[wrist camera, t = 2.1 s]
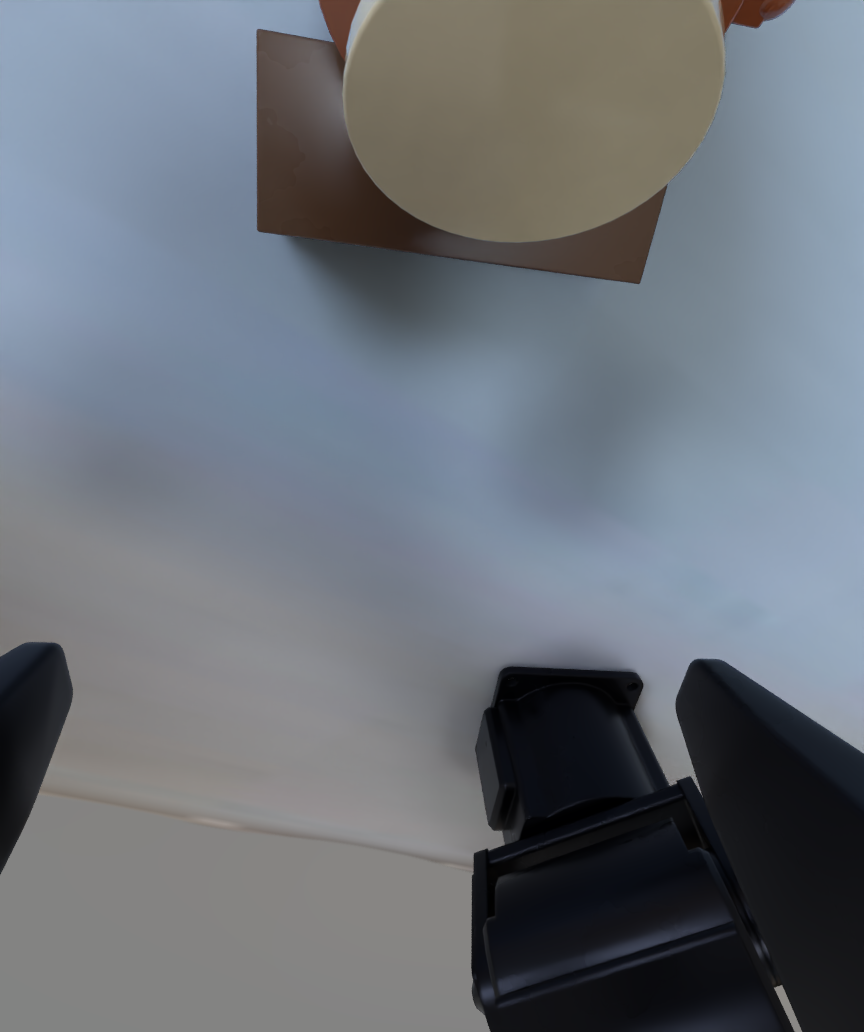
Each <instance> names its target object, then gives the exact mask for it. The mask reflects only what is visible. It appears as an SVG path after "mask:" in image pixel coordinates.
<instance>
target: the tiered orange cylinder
mask: <svg viewBox="0 0 864 1032" xmlns="http://www.w3.org/2000/svg"><path fill="white" fill-rule="evenodd" d="M795 1H796V0H319V4H320V7H321V10H322V13H323V16H324V19H325V21H326V24H327V27H328V30H329V33H330V35H331V37H332V39H333V41H334V43H335V45H336V47H337V49H338V51H339V53H340V55H341V57H342V58H343V60H344V61H345V65H344V76H343V88H342V102H343V115H344V119H345V124H346V128H347V133H348V136H349V138H350V141H351V144H352V146H353V149H354V151H355V154H356V156H357V158H358V159H359V161H360V163H361V165H362V166H363V168H364V170H365V171H366V173H367V174H368V175H369V177H370V178H371V179H372V181H373V182H374V183H375V185H376V186H377V187H378V188H379V189H380V190H381V191H382V192H383V193H384V194H385V195H386V196H387V197H388V198H389V199H390V200H392V201H393V202H394V203H395V204H397V205H398V206H399V207H400V208H401V209H403V210H405V211H406V212H408V213H409V214H411V215H412V216H414V217H415V218H417V219H419V220H421V221H423V222H425V223H427V224H429V225H431V226H433V227H436V228H439V229H441V230H444V231H446V232H449V233H453V234H456V235H460V236H463V237H467V238H473V239H478V240H483V241H493V242H511V243H522V242H537V241H544V240H551V239H558V238H562V237H566V236H571V235H575V234H578V233H581V232H584V231H588V230H591V229H594V228H596V227H599V226H601V225H603V224H606V223H608V222H611V221H613V220H615V219H617V218H619V217H621V216H623V215H624V214H626V213H628V212H630V211H632V210H633V209H635V208H636V207H638V206H640V205H641V204H643V203H644V202H646V201H647V200H649V199H650V198H651V197H652V196H654V195H655V194H656V193H658V192H659V191H660V190H661V189H663V188H664V187H665V186H666V185H667V184H668V183H669V182H670V181H671V180H672V179H673V178H674V177H675V176H676V175H677V174H678V173H679V172H680V171H681V170H682V169H683V167H684V166H685V165H686V164H687V163H688V162H689V160H690V159H691V158H692V157H693V155H694V154H695V152H696V151H697V149H698V148H699V146H700V144H701V143H702V141H703V140H704V138H705V136H706V134H707V132H708V130H709V128H710V126H711V124H712V122H713V120H714V117H715V115H716V112H717V109H718V106H719V103H720V100H721V96H722V91H723V86H724V80H725V74H726V46H725V33H726V31H727V29H728V28H729V26H730V24H731V23H732V24H736V25H741V26H746V27H751V28H759V27H760V26H761V24H762V23H763V21H770V20H773V19H775V18H777V17H779V16H781V15H782V14H783V13H785V12H786V11H787V10H788V9H789V8H790V7H791V6H792V5H793V4H794V2H795Z"/></svg>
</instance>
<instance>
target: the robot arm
mask: <svg viewBox="0 0 864 1032" xmlns="http://www.w3.org/2000/svg"><path fill="white" fill-rule="evenodd" d="M512 677H514V678H513V679H510V680H508V679H509V678H512ZM630 683H632V684H630ZM629 684H630V685H629ZM642 689H643V682H642V680H641V678H640V677H639V675H638V674H637V673H633V672H616V671H595V670H574V669H553V668H532V667H507V668H504V669H503V670H502V671H500V673H499V676H498V680H497V684H496V688H495V692H494V697H493V701H492V705H491V707H488V708H487V709H486V710H485V711H484V714H483V718H482V722H481V726H480V730H479V734H478V739H477V743H476V747H475V751H476V756H477V762H478V768H479V774H480V780H481V785H482V791H483V797H484V803H485V809H486V814H487V820H488V825H489V826H490V827H491V828H492V829H493V830H494V831H502V832H503V837H504V843H505V845H503V846H501V847H498V848H495V849H492V850H488V849H484V850H482V851H479V852H476V853H474V874H473V875H472V960H471V961H472V963H471V968H472V977H473V985H472V996H473V1000H474V1003H475V1006H476V1008H477V1009H478V1010H479V1011H481V1012H482V1013H483V1014H484V1015H485V1016H486V1019H487V1023H488V1026H489V1029H490V1031H491V1032H794V1030H793V1027H792V1026H791V1023H790V1021H789V1019H788V1017H787V1015H786V1013H785V1011H784V1008H783V1006H782V1004H781V1002H780V1000H779V998H778V996H777V993H776V991H775V989H774V987H777V986H780V985H783V988H784V990H785V992H786V995H787V997H788V999H789V1002H790V1004H791V1006H792V1008H793V1011H794V1013H795V1016H796V1018H797V1020H798V1023H799V1025H800V1027H801V1030H802V1032H864V754H863V753H862V752H860V751H859V750H857V749H856V748H854V747H853V746H851V745H850V744H848V743H847V742H845V741H844V740H842V739H841V738H839V737H838V736H836V735H835V734H833V733H832V732H830V731H829V730H827V729H826V728H824V727H823V726H821V725H820V724H818V723H817V722H815V721H814V720H812V719H811V718H809V717H807V716H806V715H804V714H803V713H801V712H800V711H798V710H797V709H795V708H794V707H792V706H791V705H789V704H788V703H786V702H785V701H783V700H782V699H780V698H779V697H777V696H776V695H774V694H773V693H771V692H770V691H768V690H767V689H765V688H764V687H762V686H761V685H759V684H758V683H756V682H755V681H753V680H752V679H750V678H749V677H747V676H746V675H744V674H743V673H741V672H740V671H738V670H736V669H735V668H733V667H732V666H730V665H729V664H727V663H726V662H724V661H722V660H719V659H696V660H694V661H692V662H691V663H690V665H689V667H688V670H687V672H686V675H685V677H684V680H683V682H682V685H681V687H680V690H679V692H678V695H677V698H676V713H677V717H678V720H679V723H680V726H681V730H682V733H683V736H684V739H685V742H686V745H687V749H688V752H689V755H690V758H691V761H692V764H693V767H694V771H695V774H696V777H697V780H698V783H699V786H700V790H701V793H702V795H701V793H700V792H699V790H698V788H697V786H696V785H695V783H694V781H693V779H692V778H691V776H689V777H686V778H683V779H681V780H678V781H677V784H675V785H672V786H670V785H669V783H668V781H667V779H666V777H665V775H664V773H663V771H662V769H661V767H660V765H659V763H658V761H657V759H656V756H655V754H654V752H653V750H652V748H651V746H650V744H649V742H648V740H647V738H646V736H645V734H644V732H643V730H642V728H641V726H640V723H639V721H638V719H637V717H636V715H635V713H634V709H635V706H636V704H637V701H638V699H639V696H640V694H641V691H642ZM72 697H73V688H72V683H71V679H70V675H69V671H68V666H67V662H66V658H65V654H64V651H63V648H62V647H61V646H60V645H59V644H57V643H49V642H28V643H24V644H22V645H20V646H18V647H16V648H14V649H13V650H11V651H9V652H8V653H6V654H4V655H3V656H1V657H0V874H1V872H2V870H3V868H4V866H5V864H6V862H7V860H8V858H9V856H10V854H11V852H12V850H13V848H14V846H15V844H16V842H17V840H18V838H19V836H20V834H21V832H22V830H23V828H24V826H25V823H26V821H27V819H28V817H29V815H30V812H31V810H32V808H33V805H34V803H35V800H36V798H37V795H38V793H39V790H40V787H41V784H42V782H43V779H44V776H45V774H46V771H47V768H48V766H49V763H50V760H51V758H52V755H53V752H54V749H55V747H56V744H57V741H58V739H59V736H60V733H61V731H62V728H63V725H64V723H65V720H66V717H67V714H68V712H69V709H70V706H71V703H72ZM702 796H703V797H702Z"/></svg>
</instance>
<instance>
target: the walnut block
mask: <svg viewBox="0 0 864 1032" xmlns="http://www.w3.org/2000/svg"><path fill="white" fill-rule="evenodd" d="M344 65H345V61H344V60H343V58H342V57H341V55H340V53H339V51H338V49H337V47H336V45H335V43H334V42H329V41H324V40H318V39H313V38H307V37H301V36H296V35H290V34H285V33H279V32H274V31H268V30H263V29H257V230H258V231H259V232H264V233H271V234H278V235H286V236H293V237H300V238H307V239H315V240H322V241H329V242H337V243H344V244H351V245H358V246H366V247H373V248H380V249H387V250H395V251H402V252H409V253H416V254H424V255H431V256H438V257H446V258H453V259H460V260H467V261H475V262H482V263H489V264H496V265H504V266H511V267H518V268H525V269H533V270H540V271H547V272H555V273H562V274H569V275H576V276H584V277H591V278H598V279H605V280H613V281H620V282H627V283H634V284H639V283H640V282H641V278H642V275H643V271H644V267H645V264H646V260H647V257H648V253H649V250H650V246H651V242H652V239H653V235H654V232H655V228H656V224H657V221H658V217H659V214H660V210H661V206H662V203H663V199H664V196H665V192H666V189H667V185H668V184H667V185H666V186H665V187H664V188H663V189H661V190H660V191H659V192H658V193H656V194H655V195H654V196H652V197H651V198H650V199H649V200H647V201H646V202H644V203H643V204H641V205H640V206H638V207H636V208H635V209H633V210H632V211H630V212H628V213H626V214H624V215H623V216H621V217H619V218H617V219H615V220H613V221H611V222H608V223H606V224H603V225H601V226H599V227H596V228H594V229H591V230H588V231H584V232H581V233H578V234H575V235H571V236H566V237H562V238H558V239H551V240H544V241H537V242H522V243H511V242H493V241H483V240H478V239H473V238H467V237H463V236H460V235H456V234H453V233H449V232H446V231H444V230H441V229H439V228H436V227H433V226H431V225H429V224H427V223H425V222H423V221H421V220H419V219H417V218H415V217H414V216H412V215H411V214H409V213H408V212H406V211H405V210H403V209H401V208H400V207H399V206H398V205H397V204H395V203H394V202H393V201H392V200H390V199H389V198H388V197H387V196H386V195H385V194H384V193H383V192H382V191H381V190H380V189H379V188H378V187H377V186H376V185H375V183H374V182H373V181H372V179H371V178H370V177H369V175H368V174H367V173H366V171H365V170H364V168H363V166H362V165H361V163H360V161H359V159H358V158H357V156H356V154H355V151H354V149H353V146H352V144H351V141H350V138H349V136H348V133H347V128H346V124H345V119H344V115H343V102H342V88H343V76H344Z"/></svg>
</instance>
